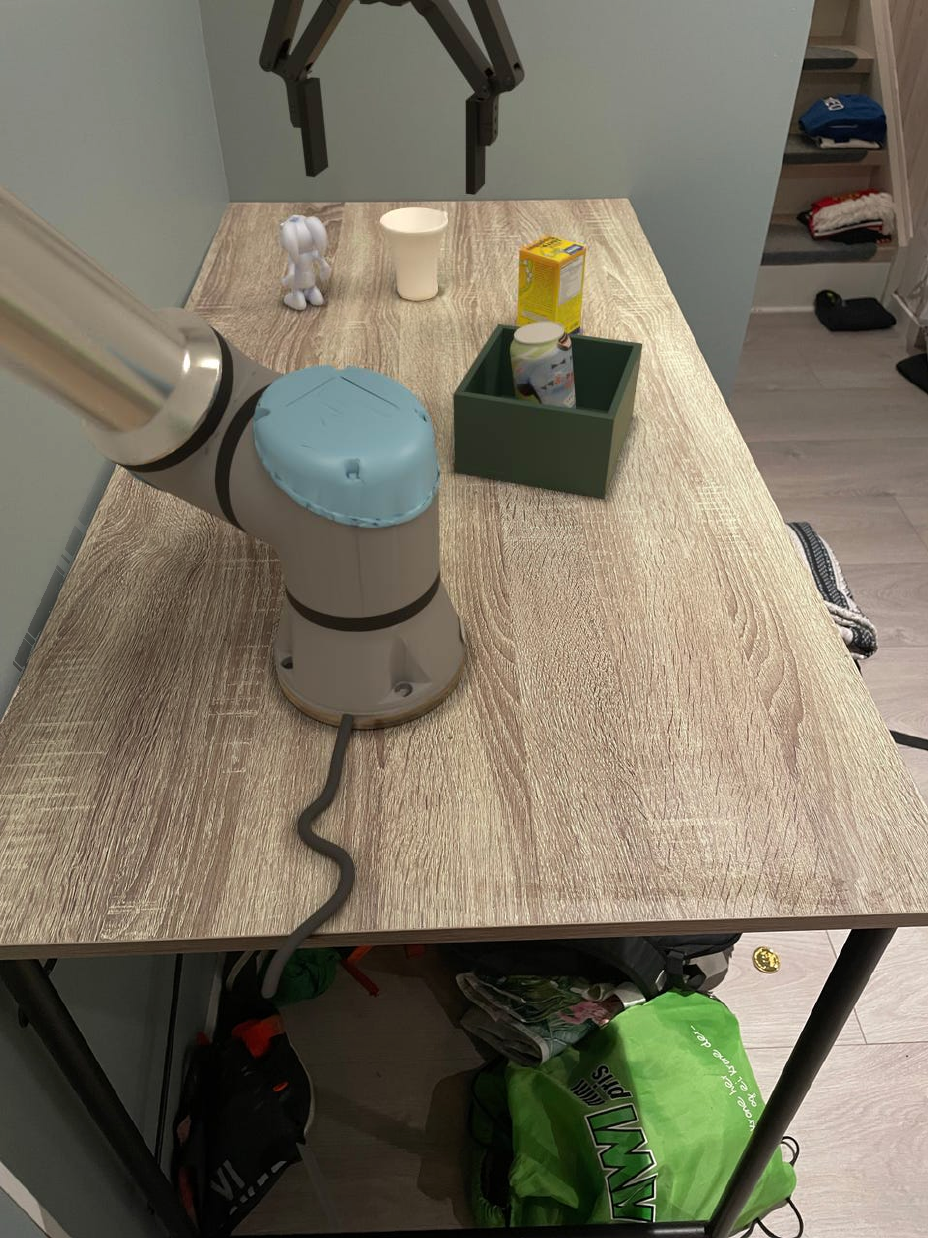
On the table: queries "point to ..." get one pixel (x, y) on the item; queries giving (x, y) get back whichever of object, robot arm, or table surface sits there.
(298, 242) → the toy figurine
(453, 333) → the table surface
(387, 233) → the cup
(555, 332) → the beverage can
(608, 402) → the bin
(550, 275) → the supplement box
